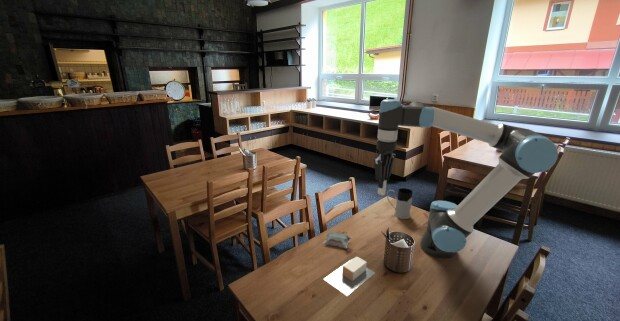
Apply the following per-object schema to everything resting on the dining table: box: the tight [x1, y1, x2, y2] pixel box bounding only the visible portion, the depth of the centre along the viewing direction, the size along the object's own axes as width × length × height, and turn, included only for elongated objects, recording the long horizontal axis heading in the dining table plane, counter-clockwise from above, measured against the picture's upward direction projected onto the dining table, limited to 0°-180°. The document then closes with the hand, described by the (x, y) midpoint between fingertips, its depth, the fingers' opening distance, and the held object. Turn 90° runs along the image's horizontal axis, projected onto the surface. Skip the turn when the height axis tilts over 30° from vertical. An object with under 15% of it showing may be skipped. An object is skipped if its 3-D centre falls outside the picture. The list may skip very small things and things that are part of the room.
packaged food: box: [321, 231, 352, 249], centre depth 135 cm, size 9×12×5 cm
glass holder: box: [386, 187, 413, 220], centre depth 162 cm, size 9×14×15 cm, turn 59°
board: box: [323, 258, 376, 297], centre depth 114 cm, size 18×12×1 cm, turn 134°
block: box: [342, 256, 368, 281], centre depth 115 cm, size 4×5×9 cm
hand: (381, 194), depth 120 cm, fingers closed
